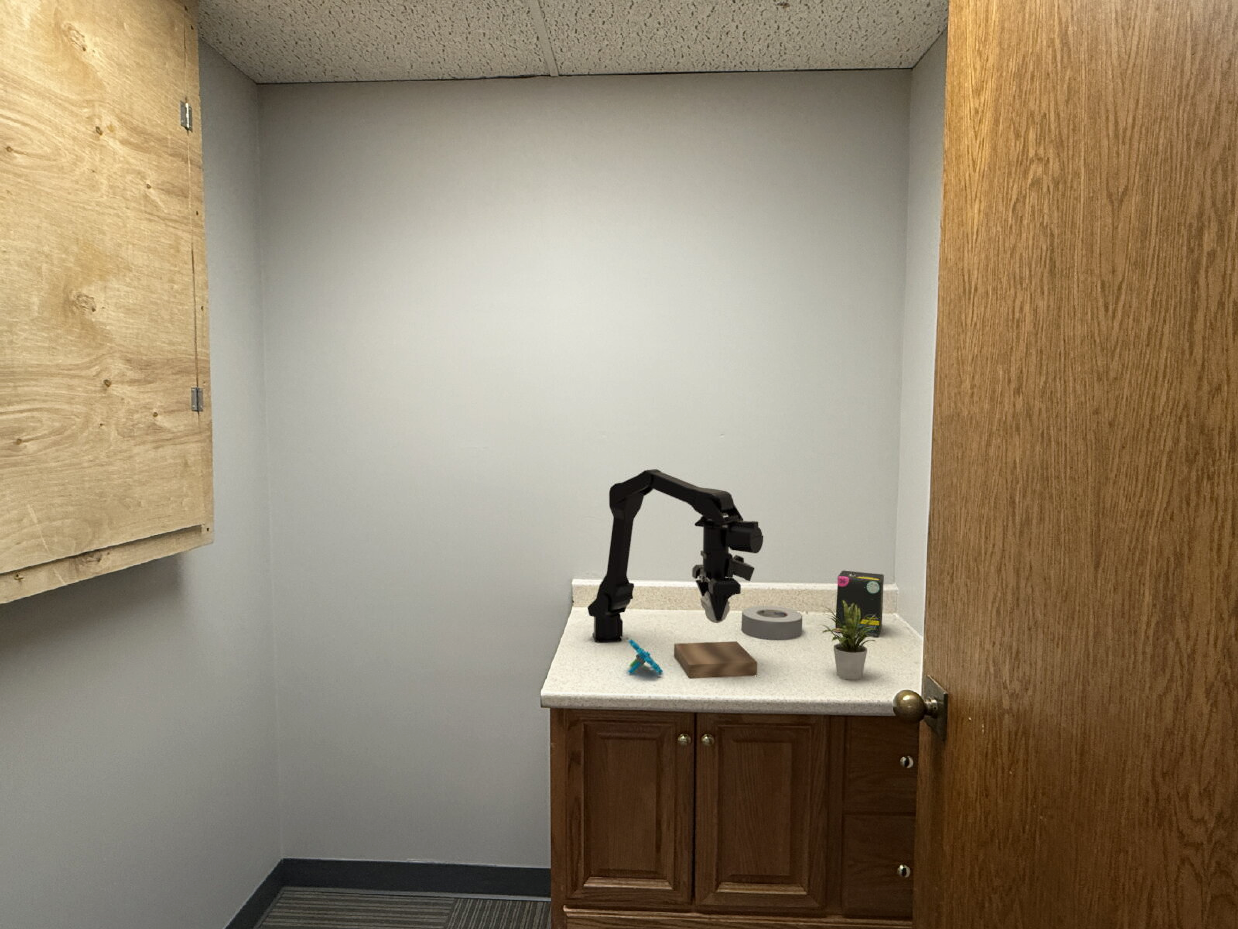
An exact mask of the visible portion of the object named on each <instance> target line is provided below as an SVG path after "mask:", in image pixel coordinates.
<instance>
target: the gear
mask: <svg viewBox="0 0 1238 929" xmlns="http://www.w3.org/2000/svg"><path fill="white" fill-rule="evenodd" d="M627 642H628V643H629V645H630V647H631V648H633V649H634V650H635V651H636V653H637V654H636V655H635V659H634V660H633V661H632V662H631V663H630V664H629V667H630V669H629V670H628V671H627V672H628V673H629V674H630V675H633V674H634V673H635V672H636V670H637V669H639V667H640V666H643V665H644V664H645V663H647V664H648V665H650V666H651V668H652V669H653V670H654V671H656V672H657V674H659V675H661V674H662V673H663V672H664V670H662V669H663V668H661V667H660V666H659V664H658V663H656V661H655V660H654V659H653V658H652V657H651V654H650V652H648V651H646V650H645V649H644V648H643V647H641V646H640V645H639V643H637V642H636V641H635V640H633V639H632V638H631V639H629V640H628V641H627Z"/></svg>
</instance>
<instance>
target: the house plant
mask: <svg viewBox="0 0 1238 929" xmlns="http://www.w3.org/2000/svg"><path fill="white" fill-rule="evenodd" d="M843 604H844V615H845V623H846V626H842V624H841V623H840V622H839V620H838V619H837V617H836V613H834V612H833V611H832V610H831V609H830V608H829V607H827V606H824V605H821V604H819V606H820V607H824V608H826V609H828V610H826V611H828V612H829V613H830V614H832V615H829V614H828V616H829V617H830V619H831V620H832V621H833V622H834V623H836V625H837V626H838V628H839V629H835V628H832V629H831V628H830V627H828V626H827V625H825V624H822V623H820V625H822V626H824V627H825V628H827V629H824V630H823V631H822V632H821V634H823V633H826V632H827V633H828V632H830V635H833V637H832V639H831V642H833V641H836V640H838V641H839V642H838V643H835V644H834V645H833V653H834V661H835V669H836V675H838V676H839V678H841V679H843V678H844V680H847V679H848V680H847V681H858V680H861V679H862V678H863V673H864V668H865V664H866V658H867V654H868V648H867V647H866V646H864V644H866V643H868V642H870V641H871V642H876V640H875V639H869V640H865V639H866V638H868V637H869V636H868V635H866V634H864V633H866V632H867V631H869V630H871V629H873V628H870V629H867V630H865V631H864V629H865V628H866V627H867V625H868V624H869V623H870V622H871V621H872V620H871V619H872V618H873V617H874V616H875V615H876V614H875V615H874V616H873V617H872V618H871V619H870V620H871V621H870V620H869V621H868V622H867V623H866V624H865V625H864V627H863V628H862V629H861V631H860V632H859V634H858V635H856V634H857V631H858V627H859V622H860V617H861V614H860V609H858V613H857V605H858V604H857V605H855V608H854V610H853V605H854V603H853V604H852V605H851V606H850V609H849V610H848V606H847V604H846V603H845V601H843ZM852 610H853V613H852ZM821 615H823V616H824V615H825V616H827V614H825V613H822V614H821ZM876 619H877V618H876ZM853 620H854V621H853ZM873 620H874V619H873ZM836 621H837V622H838V623H839V624H838V623H837V622H836ZM839 625H840V626H839ZM840 627H841V628H840ZM836 631H840V632H841V633H838V632H836ZM863 631H864V632H863ZM835 633H836V634H835ZM861 633H862V634H861ZM840 634H841V635H840ZM863 634H864V635H863ZM864 640H865V641H864ZM838 676H837V677H838Z"/></svg>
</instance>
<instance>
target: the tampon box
mask: <svg viewBox="0 0 1238 929" xmlns="http://www.w3.org/2000/svg"><path fill="white" fill-rule="evenodd" d="M884 581H885V574H881V573H871V572H862V571H854V570H853V571H852V570H842V571H841V572H840V573H839V574H838V576H837V586H836V587H837V591H836V602H835V603H836V604H835V605H836V607H835V616H836V617H837V619H838V620H839V622H840V623H841V624H842V626H846V623H845V615H844V604H843V601H845V603H846V604H847V606H848V610H849V609H850V606H851V605H852V604H853V603H854V605H853V610H854V608H855V605H857V604H858V605H857V613H858V609H860V614H861V617H860V622H859V627H858V631H857V634H859V632H860V631H861V629H862V628H863V627H864V625H865V624H866V623H867V622H868V621H869V620H870V619H871V618H872V617H873V616H874V615H875V614H876V615H875V616H874V617H873V618H872V619H871V620H872V621H871V620H870V621H871V622H870V623H869V624H868V625H867V627H866V628H865V629H864V631H865V630H867V629H870V628H873V629H871V630H869V631H867V632H866V633H864V634H866V635H868V637H870V636H873V637H872V638H879V635H880V633H881V631H880V630H882V628H883V611H884V610H883V606H884ZM853 610H852V613H853ZM876 618H877V619H876ZM873 619H874V620H873ZM835 621H836V620H835ZM853 621H854V620H853ZM836 622H837V621H836ZM834 623H835V622H834ZM837 623H838V622H837ZM838 624H839V623H838ZM834 626H835V627H834V629H839V628H838V626H837V625H836V623H835V624H834ZM839 626H840V625H839ZM840 628H841V627H840ZM864 631H863V632H864ZM836 632H837V633H838V632H840V631H836ZM839 634H841V632H840V633H839ZM861 634H862V633H861ZM864 634H863V635H864Z"/></svg>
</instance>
